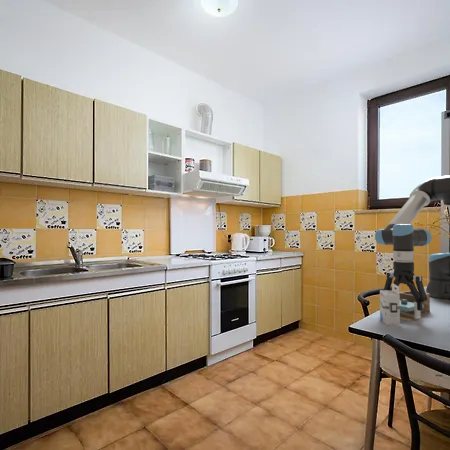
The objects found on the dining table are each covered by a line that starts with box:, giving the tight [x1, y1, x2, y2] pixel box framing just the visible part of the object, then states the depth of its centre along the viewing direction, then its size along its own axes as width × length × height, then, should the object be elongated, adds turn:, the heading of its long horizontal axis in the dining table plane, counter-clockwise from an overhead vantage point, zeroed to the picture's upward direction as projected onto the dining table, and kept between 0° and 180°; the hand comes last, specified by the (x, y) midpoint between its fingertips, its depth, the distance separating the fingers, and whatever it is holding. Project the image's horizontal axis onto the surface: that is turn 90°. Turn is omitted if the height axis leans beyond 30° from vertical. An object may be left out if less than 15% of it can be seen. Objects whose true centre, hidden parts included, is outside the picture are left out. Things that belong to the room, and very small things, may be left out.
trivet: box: [400, 311, 423, 322], centre depth 128 cm, size 9×9×1 cm
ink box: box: [379, 282, 401, 327], centre depth 121 cm, size 9×5×15 cm, turn 168°
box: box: [399, 290, 431, 315], centre depth 136 cm, size 10×8×8 cm
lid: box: [400, 299, 424, 313], centre depth 128 cm, size 10×10×4 cm
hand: (404, 314), depth 128 cm, fingers closed on lid, 10 cm apart
